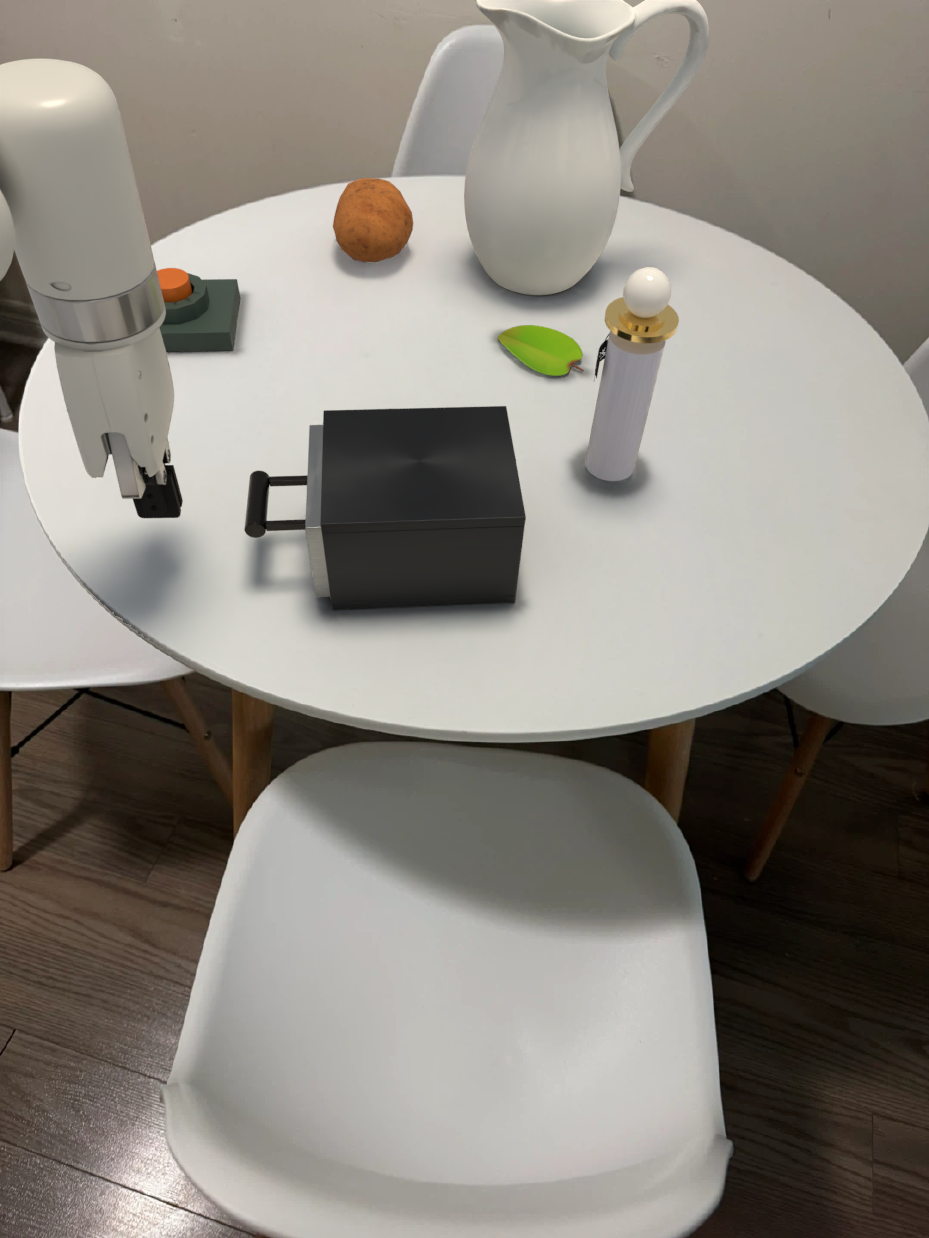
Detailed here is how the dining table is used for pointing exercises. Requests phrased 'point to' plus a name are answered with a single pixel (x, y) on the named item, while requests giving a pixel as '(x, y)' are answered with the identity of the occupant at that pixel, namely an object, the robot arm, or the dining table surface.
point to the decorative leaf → (542, 348)
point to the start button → (174, 284)
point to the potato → (372, 220)
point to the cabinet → (420, 507)
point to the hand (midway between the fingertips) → (161, 510)
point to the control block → (203, 317)
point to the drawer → (312, 524)
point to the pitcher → (560, 136)
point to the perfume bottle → (629, 372)
